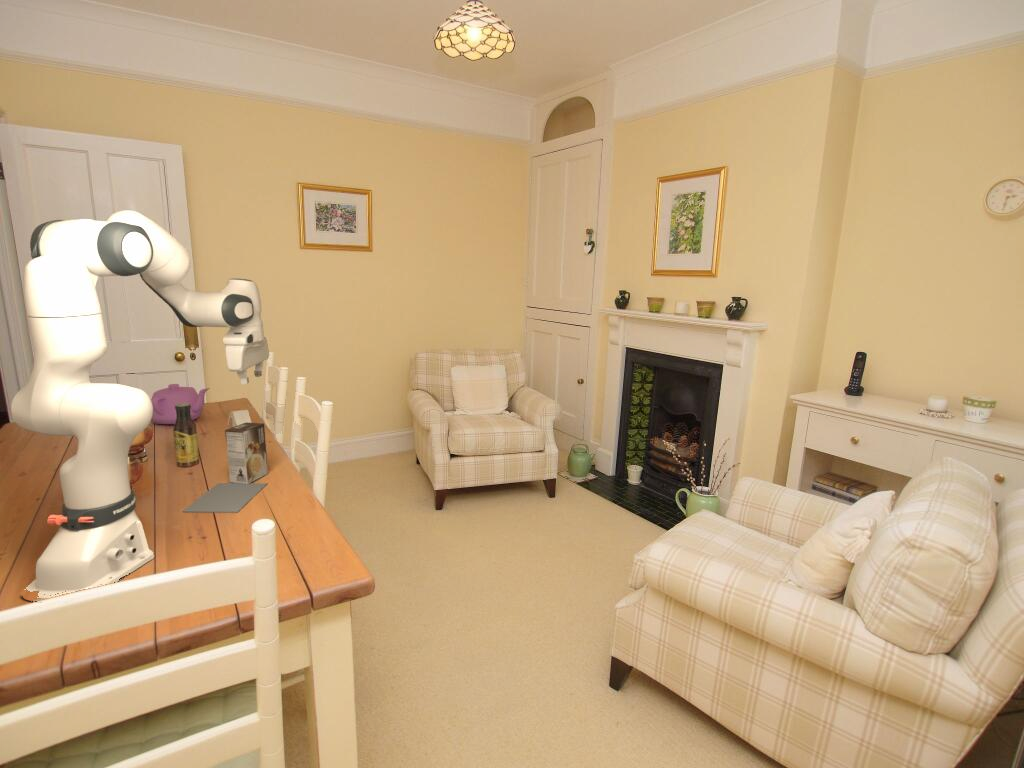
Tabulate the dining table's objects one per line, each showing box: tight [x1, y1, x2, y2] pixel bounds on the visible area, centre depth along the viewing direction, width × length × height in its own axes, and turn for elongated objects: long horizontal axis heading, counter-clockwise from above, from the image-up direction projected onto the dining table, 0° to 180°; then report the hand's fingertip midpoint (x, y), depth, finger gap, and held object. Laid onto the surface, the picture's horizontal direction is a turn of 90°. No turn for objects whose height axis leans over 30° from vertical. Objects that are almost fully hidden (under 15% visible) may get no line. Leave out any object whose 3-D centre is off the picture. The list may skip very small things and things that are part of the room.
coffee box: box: [224, 422, 269, 484], centre depth 155 cm, size 9×6×16 cm
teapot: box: [150, 383, 210, 425], centre depth 208 cm, size 23×21×15 cm
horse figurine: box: [227, 409, 253, 427], centre depth 189 cm, size 5×16×25 cm
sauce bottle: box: [172, 403, 200, 468], centre depth 164 cm, size 7×6×20 cm
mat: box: [182, 482, 268, 514], centre depth 144 cm, size 18×14×1 cm
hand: (251, 379), depth 158 cm, fingers open, 8 cm apart
